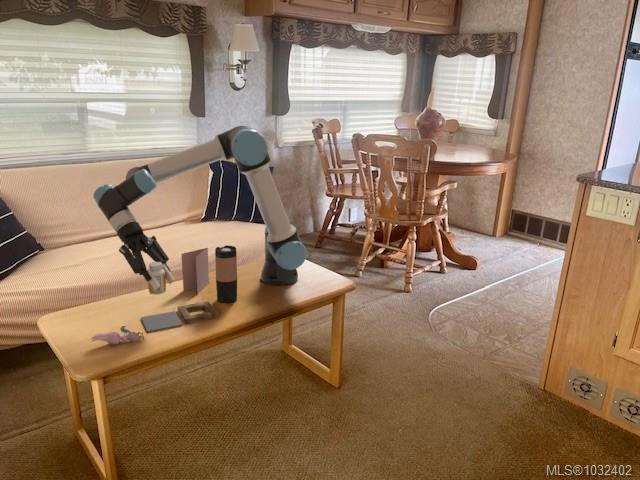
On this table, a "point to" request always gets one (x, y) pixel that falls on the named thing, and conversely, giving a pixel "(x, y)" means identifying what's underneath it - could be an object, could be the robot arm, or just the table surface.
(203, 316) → the brown flat square frame
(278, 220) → the robot arm
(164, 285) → the supplement bottle
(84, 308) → the table surface
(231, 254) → the travel mug
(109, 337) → the pink patterned figure
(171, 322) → the slate pad
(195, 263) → the greeting card
